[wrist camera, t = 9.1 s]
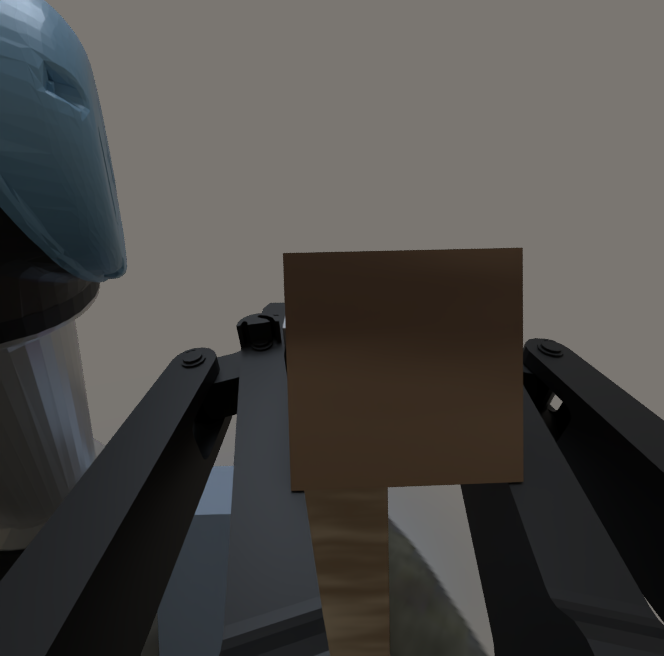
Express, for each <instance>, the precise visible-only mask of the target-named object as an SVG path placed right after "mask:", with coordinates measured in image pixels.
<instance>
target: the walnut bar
mask: <svg viewBox="0 0 664 656" xmlns="http://www.w3.org/2000/svg"><path fill="white" fill-rule="evenodd" d="M522 249H523V248H494V249H453V250H452V249H450V250H449V249H448V250H410V251H409V250H404V251H362V252H361V251H360V252H316V253H283V264H284V265H283V266H284V296H285V327H286V357H287V387H288V418H289V448H290V478H291V491H304V490H329V489H354V488H380V487H405V486H431V485H455V484H481V483H507V482H523V264H522V262H523V254H522V251H523V250H522Z"/></svg>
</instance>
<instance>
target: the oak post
mask: <svg viewBox="0 0 664 656" xmlns="http://www.w3.org/2000/svg"><path fill="white" fill-rule="evenodd" d="M304 493H305V499H306V506H307V513H308V519H309V526H310V533H311V539H312V546H313V553H314V559H315V566H316V572H317V579H318V586H319V592H320V599H321V605H322V612H323V618H324V623H325V629H326V634H327V640H328V646H329V653H330V656H390V631H389V557H388V487H380V488H354V489H329V490H304Z"/></svg>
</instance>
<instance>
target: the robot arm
mask: <svg viewBox="0 0 664 656" xmlns="http://www.w3.org/2000/svg"><path fill="white" fill-rule="evenodd" d="M126 260H127V259H126V250H125V243H124V234H123V228H122V222H121V217H120V211H119V204H118V199H117V193H116V185H115V179H114V174H113V168H112V163H111V157H110V151H109V146H108V141H107V136H106V131H105V126H104V121H103V116H102V111H101V106H100V102H99V97H98V92H97V89H96V85H95V80H94V76H93V72H92V69H91V65H90V62H89V60H88V57H87V54H86V52H85V50H84V48H83V46H82V44H81V42H80V41H79V39H78V37H77V36H76V34H75V33H74V31H73V30H72V29H71V27H70V26H69V25H68V24H67V23H66V21H65V20H64V19H63V18H62V17H61V15H60V14H58V12H56V10H54V8H52V7H51V6H50V5H49V4H48V3H47V2H46V1H44V0H0V656H140V654H141V652H142V649H143V647H144V644H145V642H146V639H147V636H148V634H149V631H150V629H151V626H152V623H153V621H154V618H155V616H156V613H157V610H158V608H159V605H160V603H161V600H162V597H163V595H164V592H165V590H166V587H167V585H168V582H169V579H170V577H171V574H172V572H173V569H174V566H175V564H176V561H177V559H178V556H179V553H180V551H181V548H182V546H183V543H184V540H185V538H186V535H187V533H188V530H189V528H190V525H191V522H192V520H193V517H194V515H195V512H196V509H197V507H198V504H199V502H200V499H201V496H202V494H203V491H204V489H205V486H206V483H207V481H208V478H209V476H210V473H211V471H212V468H213V465H214V463H215V460H216V457H217V455H218V452H219V450H220V447H221V444H222V442H223V439H224V437H225V434H226V432H227V429H228V426H229V424H230V421H231V418H232V415H235V414H237V423H236V439H235V456H234V471H233V487H232V503H231V519H230V535H229V551H228V567H227V583H226V599H225V615H224V630H223V640H222V645H221V651H220V654H219V656H330V653H329V646H328V640H327V634H326V629H325V623H324V618H323V612H322V605H321V599H320V592H319V586H318V579H317V572H316V566H315V559H314V553H313V546H312V539H311V533H310V526H309V519H308V513H307V506H306V499H305V493H304V491H291V478H290V448H289V418H288V387H287V357H286V327H285V303H270V304H268V305H267V306H266V307H265V308H264V309H263V311H262V313H261V314H253V315H249V316H247V317H245V318H243V319H241V320H240V321H239V322H238V324H237V331H238V335H239V340H240V344H241V351H239V352H237V353H234V354H230V355H226V356H222V357H217V356H216V354H215V352H214V351H213V350H211V349H209V348H194V349H191V350H187V351H185V352H183V353H181V354H179V355H177V356H176V357H175V358H174V359H173V360H172V361H171V363H170V364H169V365H168V367H167V368H166V369H165V370H164V372H163V373H162V374H161V375H160V377H159V378H158V379H157V381H156V382H155V383H154V384H153V386H152V387H151V388H150V390H149V391H148V392H147V393H146V395H145V396H144V398H143V399H142V400H141V401H140V403H139V404H138V405H137V406H136V408H135V409H134V410H133V411H132V413H131V414H130V415H129V417H128V418H127V419H126V420H125V422H124V423H123V424H122V426H121V427H120V428H119V429H118V431H117V432H116V433H115V435H114V436H113V437H112V439H111V440H110V441H109V442H108V444H107V445H106V446H105V445H104V444H102V443H101V442H99V441H98V440H96V439H94V438H93V434H92V429H91V422H90V415H89V409H88V402H87V396H86V389H85V382H84V376H83V369H82V363H81V357H80V350H79V343H78V337H77V330H76V324H75V319H76V318H78V317H79V316H81V315H82V314H83V313H84V312H85V311H86V310H87V309H89V307H90V306H91V305H92V304H93V303H94V301H95V299H96V297H97V295H98V293H99V288H100V282H104V281H106V280H108V279H114V278H119V277H121V276H123V275H124V274H125V273H126V269H127V264H126V262H127V261H126ZM555 394H556V395H557V396H558V397H559V398H560V399H561V400H562V401H563V403H562V404H561V406H560V407H559V409H558V410H555V409H554V408H553V407H552V406H551V405H550V403H551V400H552V399H553V397H554V395H555ZM460 485H461V489H462V494H463V499H464V504H465V508H466V513H467V518H468V523H469V527H470V532H471V537H472V542H473V546H474V550H475V555H476V560H477V565H478V570H479V575H480V579H481V584H482V589H483V593H484V598H485V603H486V608H487V613H488V617H489V622H490V627H491V632H492V637H493V642H494V653H495V656H664V625H663V624H662V623H661V622H660V621H659V620H658V618H657V617H656V616H655V614H654V613H653V611H652V610H651V608H650V607H649V605H648V603H647V601H648V602H649V604H650V605H651V606H652V607H653V609H654V610H655V611H656V613H657V614H658V616H659V617H660V618H661V619H662V621H663V622H664V420H662V419H661V418H660V417H658V416H657V415H656V414H654V413H653V412H652V411H650V410H649V409H648V408H647V407H645V406H644V405H643V404H641V403H640V402H639V401H637V400H636V399H635V398H633V397H632V396H631V395H629V394H628V393H627V392H625V391H624V390H623V389H621V388H620V387H619V386H618V385H616V384H615V383H614V382H612V381H611V380H610V379H608V378H607V377H606V376H604V375H603V374H602V373H600V372H599V371H598V370H596V369H595V368H594V367H592V366H591V365H590V364H588V363H587V362H586V361H584V360H583V359H582V358H581V357H579V356H578V355H577V354H575V353H574V352H573V351H571V350H570V349H569V348H567V347H565V346H564V345H562V344H559V343H557V342H555V341H553V340H548V339H538V338H535V339H529V340H528V341H527V342H526V343H525V345H524V348H523V482H507V483H481V484H460ZM644 597H645V598H646V599H647V601H646V600H645V598H644Z"/></svg>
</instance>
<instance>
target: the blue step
mask: <svg viewBox="0 0 664 656" xmlns="http://www.w3.org/2000/svg"><path fill="white" fill-rule="evenodd" d="M233 471H234V466H215V467H213V468H212V471H211V473H210V476H209V478H208V481H207V483H206V486H205V489H204V491H203V494H202V496H201V499H200V502H199V504H198V507H197V509H196V512H195V515H194V517H193V520H192V522H191V525H190V528H189V530H188V533H187V535H186V538H185V540H184V543H183V546H182V548H181V551H180V553H179V556H178V559H177V561H176V564H175V566H174V569H173V572H172V574H171V577H170V579H169V582H168V585H167V587H166V590H165V592H164V595H163V597H162V600H161V603H160V605H159V608H158V610H157V613H158V636H159V656H219V654H220V651H221V645H222V640H223V630H224V615H225V599H226V583H227V567H228V551H229V535H230V519H231V503H232V487H233Z"/></svg>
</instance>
